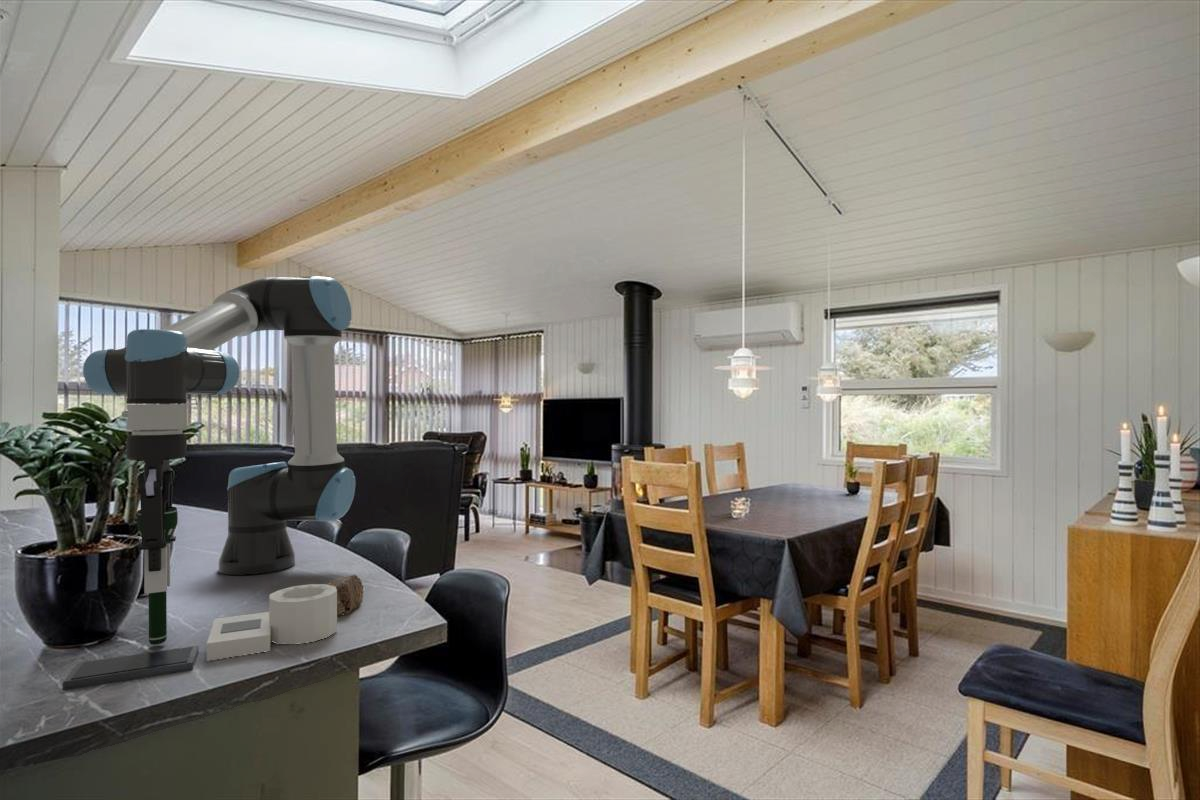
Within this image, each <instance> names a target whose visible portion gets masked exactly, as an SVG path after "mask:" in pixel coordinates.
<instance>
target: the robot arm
mask: <svg viewBox="0 0 1200 800" xmlns="http://www.w3.org/2000/svg"><path fill="white" fill-rule="evenodd" d="M351 306H352V305H351V301H350V299H349V295H348V293H347V291H346V290H345V287H344V286H343V285H342V283H341V282H340V281H339V280H337V279H336V278H333V277H327V276H317V275H316V276H315V275H312V276H311V275H310V276H288V277H287V276H284V277H282V276H281V277H279V276H278V277H277V276H275V277H273V276H272V277H271V276H270V277H264V278H260V279H255V280H253V281H252V280H251V281H250V282H247V283H244V284H241V285H240V286H237V287H234V288H233V289H230V290H228V291H225V292H223V293H222V294H219V295H217V297H216V298H215V299H214V300H213V302H212V304H211V305H209V306H206V307H204V308H203V309H200V310H198V311H197V312H195V313H193V314H191V315H188V316H186V317H184V318H182V319H180V320H179V321H176V322H175V323H172V324H170V325H168V326H166V327H165V328H162V329H153V328H151V329H149V328H144V329H143V328H142V329H134V330H131V331H130V332H128V334H127V335H126V346H125V347H123V348H119V349H118V348H117V349H114V348H108V349H101V350H96V351H93V352H91V353H90V354H89V355H88V356H87V357H86V359H85V361H84V363H83V369H82V373H83V378H84V381H85V382H86V385H87V387H89V388H90V389H91V390H93V392H95V393H97V394H101V395H115V396H126V399H125V400H126V401H125V403H126V404H127V405H126V410H123V411H121V414H120V415H121V417H122V418H127V419H126V430H127V431H128V432H131V434H130V435H127V437H125V440H126V442H125V454H126V455H125V457H126V459H127V460H129V461H135V462H138V461H143V462H144V466H143V471H142V472H139V475H138V489H139V490H138V491H139V498H140V500H139V501H140V510H141V535H140V537H141V542H140V545H138V546H137V550H138V551H143V552H144V553H143V554H144V555H143V556H144V557H143V558H144V562H143V563H144V564H143V565H144V568H143V569H144V570H143V571H144V572H143V573H144V578H143V579H144V580H143V581H144V588H143V589H144V590H143V591H144V595H145V594H149V593H156V592H165V591H166V592H167V591H168V587H170V586H171V542H176V539H177V537H176V535H175V536H174V535H171V536H170V538H169V539H168V540H167V542H165V511H167V510H169V507H173V495H174V481H175V478H176V477H175V475H176V474H175V470H174V469H172V470H171V466H170V465H171V464H170V460H178V459H179V460H180V459H184V458H186V457H187V454H188V443H187V442H188V438H187V437H188V436H187V435H186V434H185V433H183V431H185V430H187V429H188V404H187V395H206V396H216V395H222V394H225V393H228V392H230V391H232V390H233V389H234V388H235V387H236V385H237V384H238V382H239V379H240V374H241V372H240V367H239V364H238V362H237V360H236V359H235V358H234V357H233V356H232V355H231V354H229V353H227V352H225V351H219V350H217V348H218V347H219V348H220V347H221V346H222V345H224V344H225V343H227V342H229V341H231V340H232V339H234V338H236V337H247V336H250V335H251V334H252V333H255V332H261V331H262V332H263V331H283V338H284V339H285V340H286V341H287V342H288V343H289V344H290V346H291V357H292V362H291V363H292V392H293V393H292V395H293V425H294V426H293V427H294V428H293V429H294V431H293V432H294V455H293V456H292V457H291V458H290V459H289V460H288V461H287V462H286V461H279V462H270V463H265V464H263V463H262V464H257V465H250V466H249V465H248V466H242V467H237V468H233V469H232V470H231V471H230V472H229V475H228V483H227V488H226V490H227V525H228V527H227V528H228V529H227V537H226V540H225V543H224V545H223V549H222V552H221V554H220V557H219V560H218V572H219V573H220V574H224V575H230V576H244V575H245V574H251V575H260V574H259V573H261V574H267V573H273V572H278V571H280V570H281V571H282V570H286V569H288V568H290V567H292V566H294V565H295V563H296V553H295V550H294V547H293V545H292V542H291V540H290V539H291V538H290V537H289V533H288V530H287V521H289V522H290V521H303V522H304V521H305V522H306V521H309V522H314V521H315V522H316V521H317V522H321V523H322V522H324V521H325V522H326V521H337V520H340V519H342V518H343V517H344V516H345V515H346V514H347V513H348V511H349V510H350V509H351V505H352V503H353V502H354V501H353V500H354V497H355V492H356V482H357V481H356V476H355V473H354V471H353V470H352V469H351V468H349V467H345V458H344V457H343V456H342V455H340V453H339V452H338V446H337V445H338V444H337V442H338V440H337V439H338V438H337V407H336V406H337V404H336V403H337V401H336V399H337V398H336V366H335V363H336V362H335V361H336V360H335V346H336V345H337V343H338V342H340V341H341V340H342V331H345V330H347V329H348V328H349V326H350V325H351V320H352V307H351ZM165 546H166V547H165ZM245 576H246V575H245Z"/></svg>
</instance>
